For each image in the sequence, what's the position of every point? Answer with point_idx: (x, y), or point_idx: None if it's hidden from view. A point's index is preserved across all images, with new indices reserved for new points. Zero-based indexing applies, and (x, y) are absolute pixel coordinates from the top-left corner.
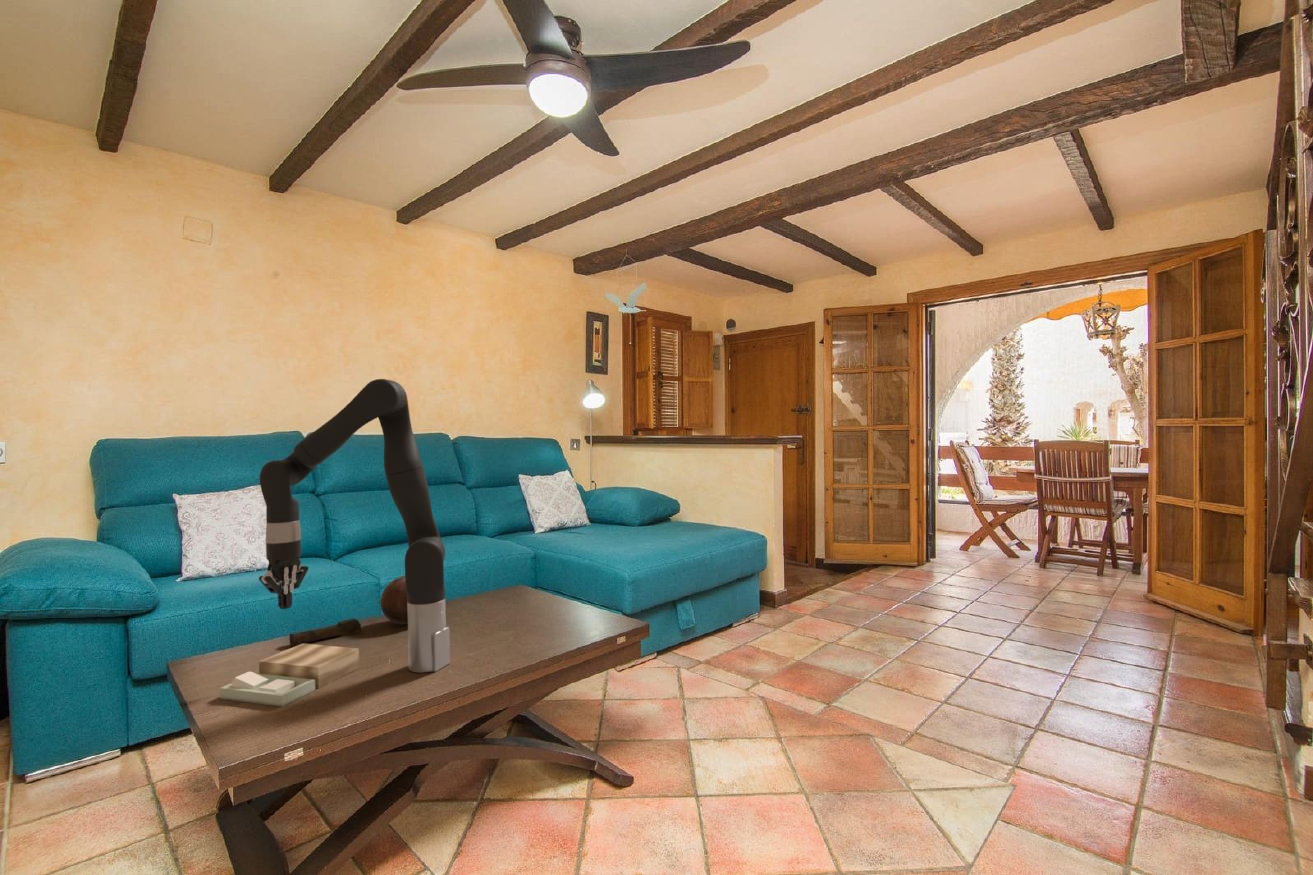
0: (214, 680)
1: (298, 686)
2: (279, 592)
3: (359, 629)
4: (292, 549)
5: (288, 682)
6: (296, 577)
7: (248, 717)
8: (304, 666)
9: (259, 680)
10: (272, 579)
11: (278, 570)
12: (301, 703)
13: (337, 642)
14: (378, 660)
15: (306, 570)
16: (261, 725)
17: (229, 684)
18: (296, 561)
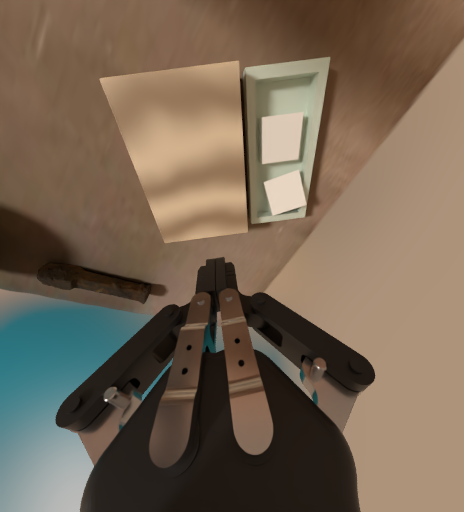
0: (255, 267)
1: (284, 70)
2: (261, 296)
3: (47, 265)
4: None
5: (270, 123)
6: (153, 359)
7: (358, 92)
8: (241, 117)
9: (278, 183)
10: (325, 359)
11: (297, 426)
12: (300, 30)
13: (97, 253)
14: (67, 81)
15: (82, 391)
16: (398, 11)
17: (293, 216)
18: (123, 508)
